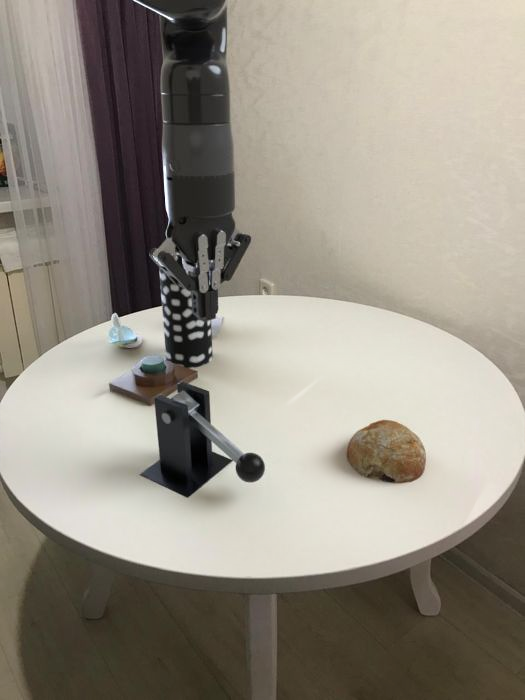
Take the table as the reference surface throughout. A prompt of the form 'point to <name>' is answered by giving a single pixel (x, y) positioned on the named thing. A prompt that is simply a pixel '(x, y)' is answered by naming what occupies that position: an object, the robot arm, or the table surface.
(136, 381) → the button block
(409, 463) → the bread roll
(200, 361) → the white-spotted black cylinder
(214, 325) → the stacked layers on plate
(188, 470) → the bracket
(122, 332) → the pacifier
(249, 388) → the table surface
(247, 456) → the lever
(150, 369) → the button
